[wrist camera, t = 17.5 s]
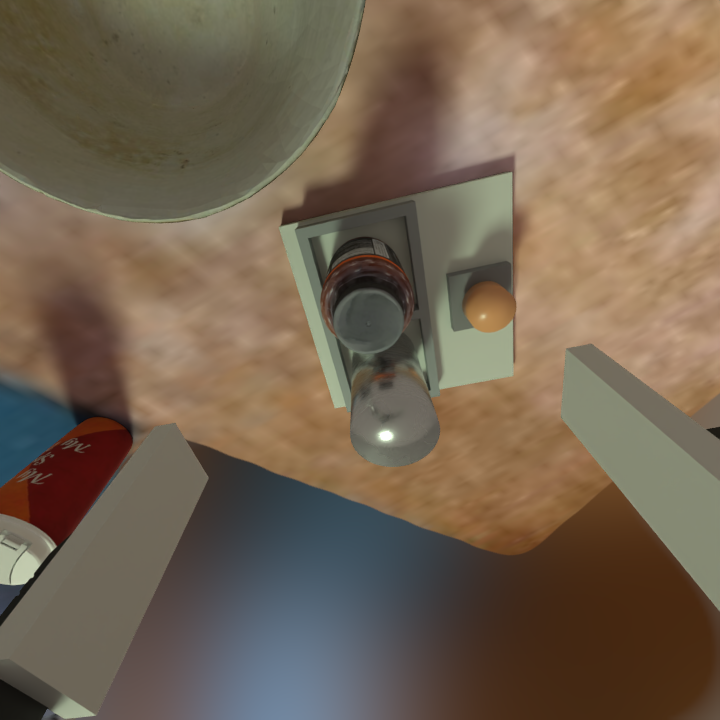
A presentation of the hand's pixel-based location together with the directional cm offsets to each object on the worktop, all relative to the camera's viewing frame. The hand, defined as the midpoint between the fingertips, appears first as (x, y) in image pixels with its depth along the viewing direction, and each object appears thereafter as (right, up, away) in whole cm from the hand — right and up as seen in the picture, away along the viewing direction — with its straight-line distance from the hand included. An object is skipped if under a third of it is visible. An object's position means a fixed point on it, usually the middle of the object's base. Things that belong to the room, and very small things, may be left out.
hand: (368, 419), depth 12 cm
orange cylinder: (+10, +7, +17) cm, 21 cm away
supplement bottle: (0, +10, +17) cm, 20 cm away
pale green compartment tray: (+4, +7, +20) cm, 21 cm away
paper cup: (-28, -6, +27) cm, 40 cm away
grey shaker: (+2, +2, +21) cm, 21 cm away
